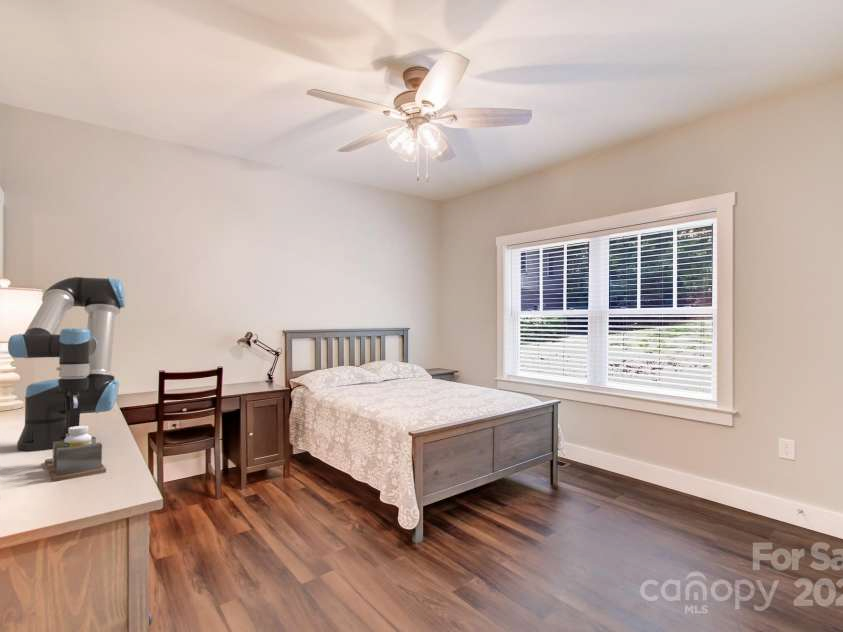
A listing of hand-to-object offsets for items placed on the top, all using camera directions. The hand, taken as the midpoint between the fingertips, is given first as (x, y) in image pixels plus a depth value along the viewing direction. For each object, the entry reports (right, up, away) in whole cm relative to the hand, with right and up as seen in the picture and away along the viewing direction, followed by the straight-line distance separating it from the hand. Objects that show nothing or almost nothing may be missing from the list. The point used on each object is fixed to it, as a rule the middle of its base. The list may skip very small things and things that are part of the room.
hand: (71, 452), depth 139 cm
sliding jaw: (+3, -2, -3) cm, 5 cm away
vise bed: (+5, -3, -5) cm, 8 cm away
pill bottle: (+8, -2, -8) cm, 11 cm away
